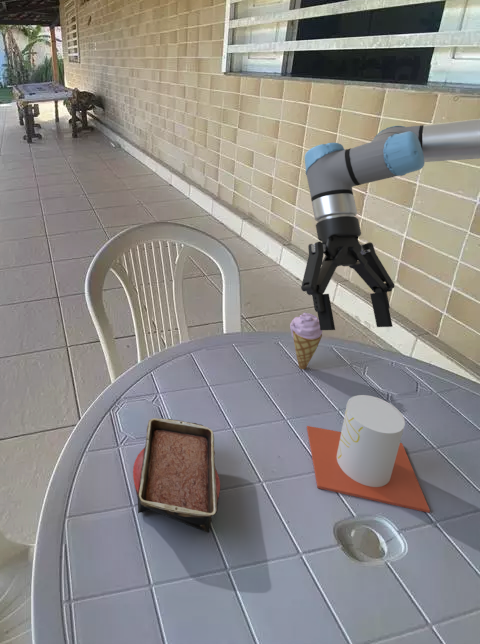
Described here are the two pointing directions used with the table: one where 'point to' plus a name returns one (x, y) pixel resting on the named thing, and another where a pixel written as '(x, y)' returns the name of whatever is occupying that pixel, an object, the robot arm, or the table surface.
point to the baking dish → (178, 472)
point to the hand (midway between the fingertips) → (356, 328)
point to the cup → (369, 440)
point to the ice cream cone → (305, 337)
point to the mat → (333, 478)
